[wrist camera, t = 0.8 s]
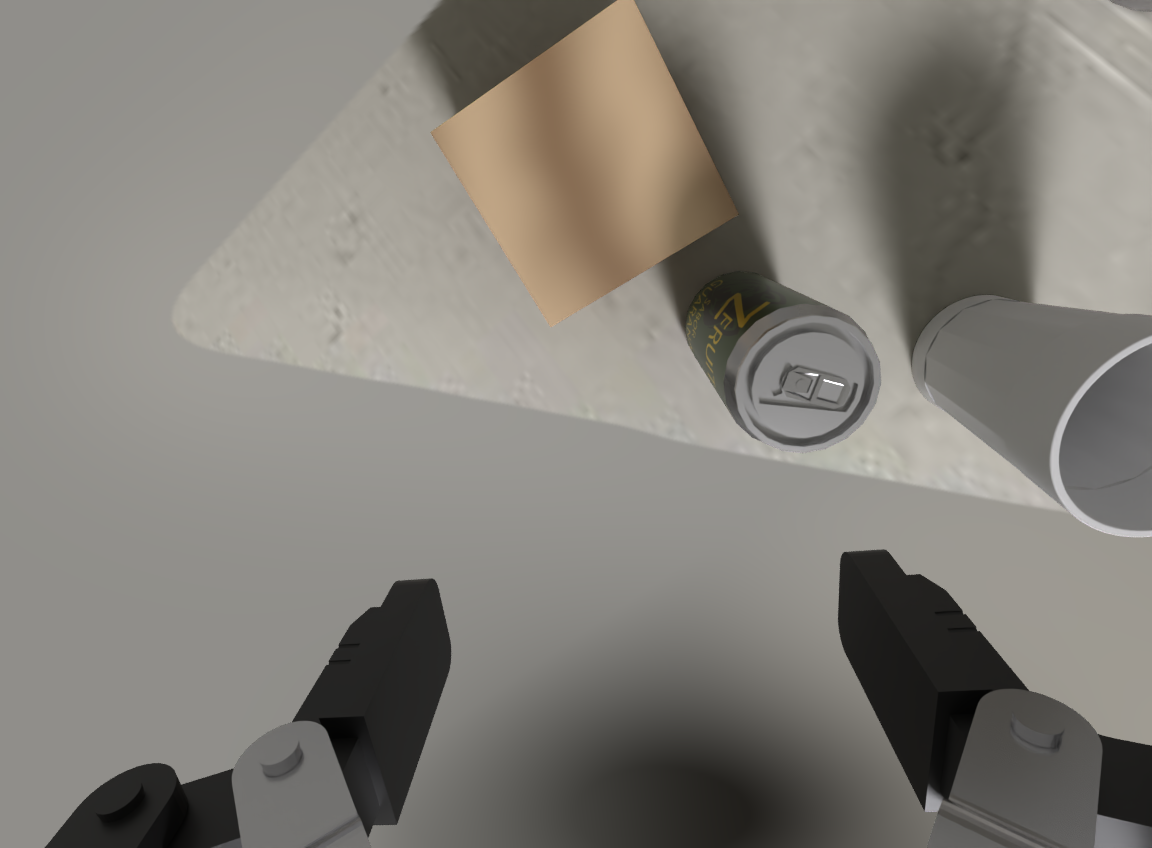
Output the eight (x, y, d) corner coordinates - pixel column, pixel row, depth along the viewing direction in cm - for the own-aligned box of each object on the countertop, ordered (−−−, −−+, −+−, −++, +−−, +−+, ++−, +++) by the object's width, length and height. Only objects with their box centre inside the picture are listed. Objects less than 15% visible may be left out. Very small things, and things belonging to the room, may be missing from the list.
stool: (623, 32, 28) (629, -9, 23) (712, 212, 31) (738, 214, 25) (461, 145, 30) (430, 132, 24) (558, 305, 32) (550, 327, 27)
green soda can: (802, 285, 32) (915, 331, 20) (765, 382, 34) (850, 474, 22) (701, 257, 31) (760, 290, 20) (670, 357, 33) (708, 438, 22)
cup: (874, 324, 32) (1023, 391, 21) (1029, 249, 31) (1280, 277, 20) (923, 449, 35) (1081, 570, 23) (1069, 385, 33) (1314, 480, 22)
